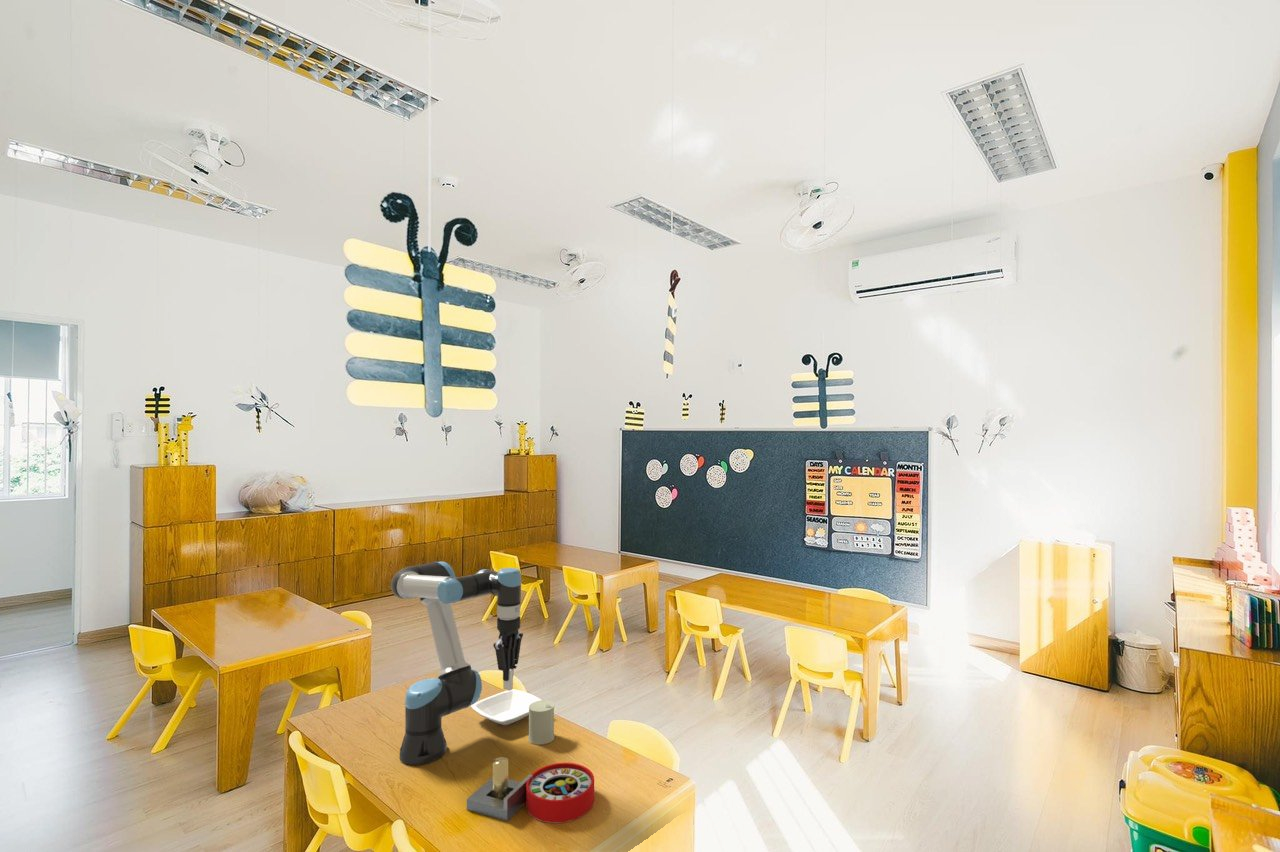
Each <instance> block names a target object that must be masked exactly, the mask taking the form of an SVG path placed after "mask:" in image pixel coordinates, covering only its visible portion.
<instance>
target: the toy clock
mask: <svg viewBox="0 0 1280 852" xmlns="http://www.w3.org/2000/svg"><path fill="white" fill-rule="evenodd" d="M530 775H533V780H532V777H531V778H530V779H529V780H527V782H526V803H525V808H526V811H527V813H528V814H529V816H531V817H532V818H534V819H535V820H538V821H540V822H545V823H550V824H561V823H567V822H571V821H574V820H577V819H579V818H581V817H583V816H584V815H586V814H587V813H588V812H589V811H591V810H592V808H593V806H594V803H595V776H594V773H593V772H592V771H591V770H590V769H589V768H588V767H586V766H584V765H582V764H579V763H575V762H557V763H551V764H547V765H545V766H542V767H539V768H538V769H536V770H534V771H533V772H532V773H531V774H530ZM591 807H592V808H591ZM585 813H586V814H585Z"/></svg>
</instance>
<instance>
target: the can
mask: <svg viewBox="0 0 1280 852" xmlns="http://www.w3.org/2000/svg"><path fill="white" fill-rule="evenodd" d="M554 740H555V704H554V702H553V701H551V700H546V699H545V700H544V699H541V701H536V702H533V703H531V704H530V705H529V715H528V742H530V743H531V744H532V745H537V746H539V745H540V746H542V745H547V744H549V743H551V742H552V741H554Z"/></svg>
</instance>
